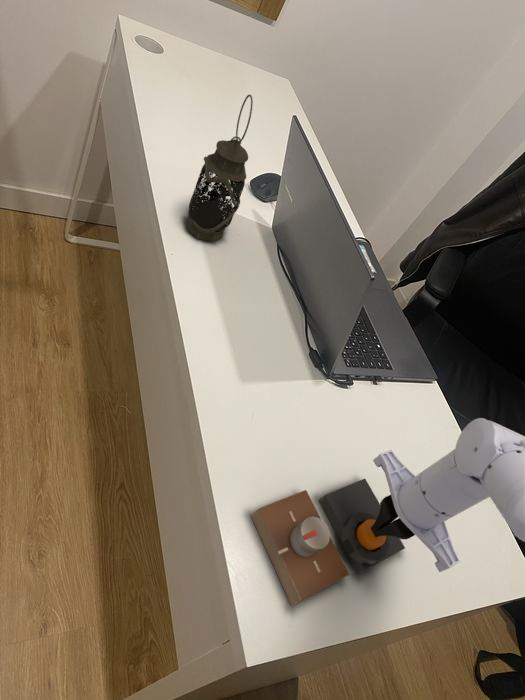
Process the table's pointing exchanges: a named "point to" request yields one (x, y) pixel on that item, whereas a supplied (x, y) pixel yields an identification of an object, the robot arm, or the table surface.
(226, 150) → the lantern
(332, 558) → the dimmer panel
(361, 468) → the table surface
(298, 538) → the dial
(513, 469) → the robot arm
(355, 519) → the switch block
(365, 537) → the switch button
